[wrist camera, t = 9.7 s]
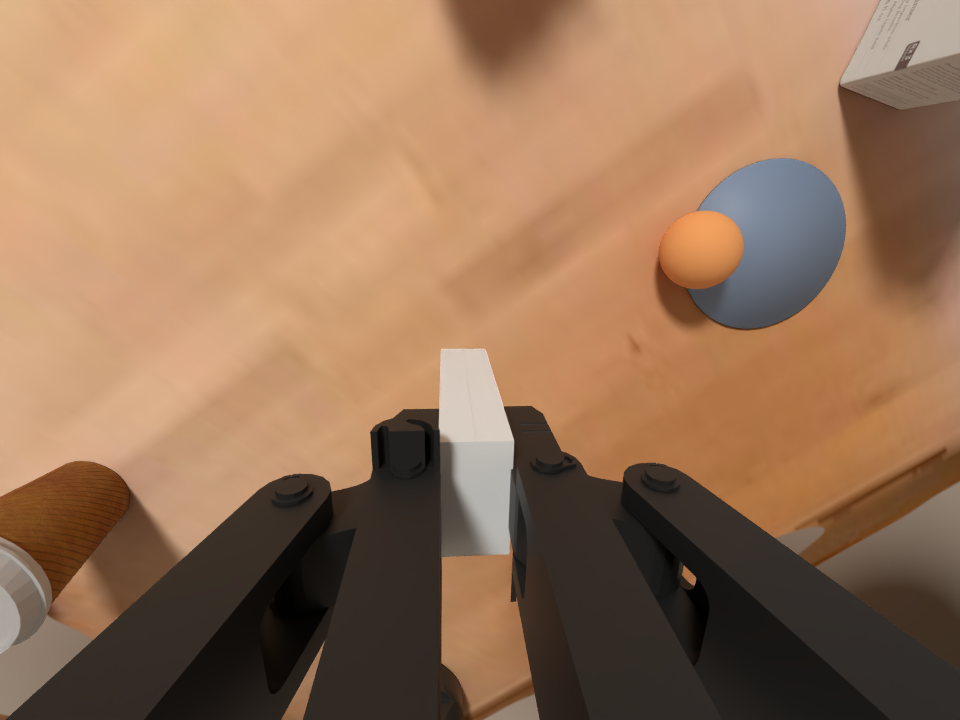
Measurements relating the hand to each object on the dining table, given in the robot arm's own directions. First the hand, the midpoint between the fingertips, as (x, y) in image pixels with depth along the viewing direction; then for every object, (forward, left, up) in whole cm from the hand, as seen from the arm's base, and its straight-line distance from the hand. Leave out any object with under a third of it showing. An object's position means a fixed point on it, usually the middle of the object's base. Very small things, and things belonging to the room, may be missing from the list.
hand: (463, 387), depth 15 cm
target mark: (+3, -24, -21) cm, 32 cm away
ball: (+3, -18, -18) cm, 25 cm away
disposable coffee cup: (-17, +32, -21) cm, 42 cm away
